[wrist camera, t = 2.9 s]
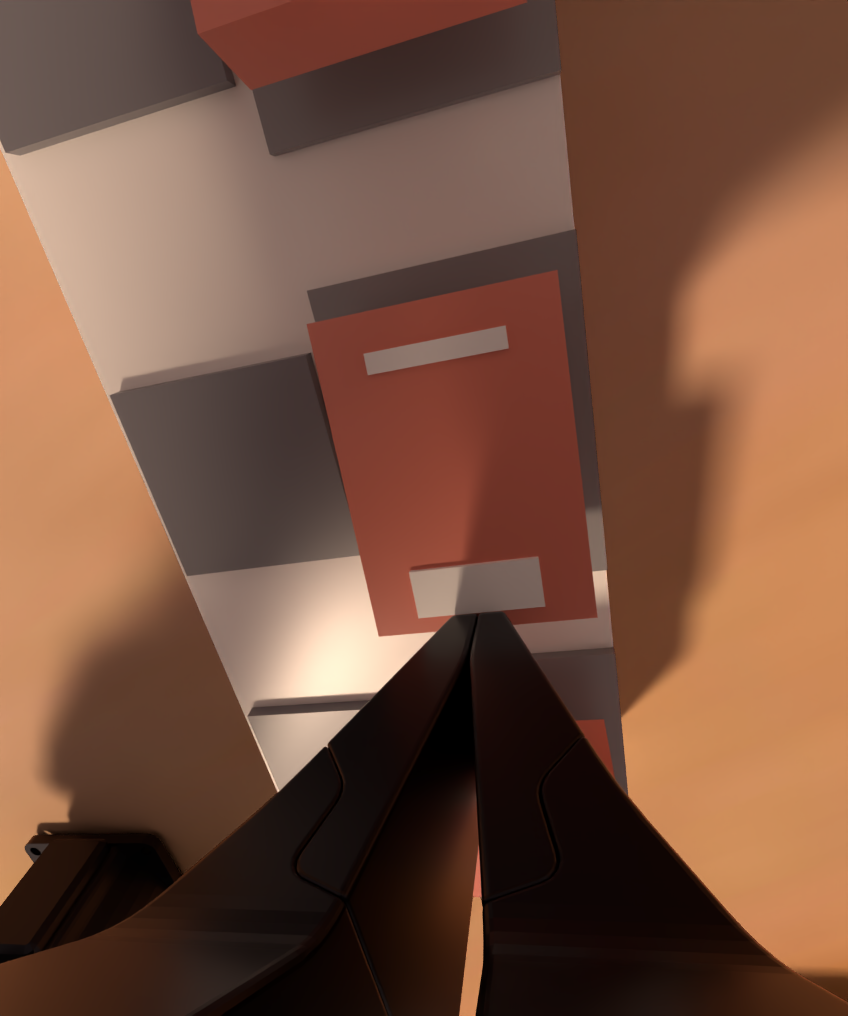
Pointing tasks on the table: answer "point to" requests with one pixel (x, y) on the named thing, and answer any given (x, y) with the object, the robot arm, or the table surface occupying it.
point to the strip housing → (290, 303)
